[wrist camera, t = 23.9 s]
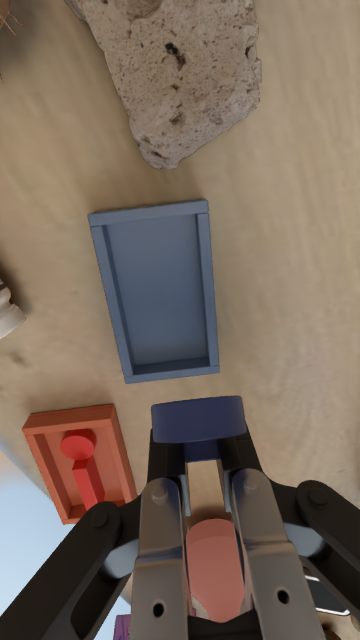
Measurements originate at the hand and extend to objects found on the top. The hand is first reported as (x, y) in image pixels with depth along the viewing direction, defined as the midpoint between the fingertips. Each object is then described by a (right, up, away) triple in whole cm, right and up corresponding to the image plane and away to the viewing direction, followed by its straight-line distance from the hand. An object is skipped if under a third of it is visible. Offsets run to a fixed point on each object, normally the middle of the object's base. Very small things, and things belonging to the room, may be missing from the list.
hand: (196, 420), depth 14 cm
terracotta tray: (-10, -10, +17) cm, 22 cm away
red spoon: (-10, -10, +17) cm, 22 cm away
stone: (-2, +21, +4) cm, 22 cm away
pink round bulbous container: (+3, -20, +22) cm, 30 cm away
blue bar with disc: (0, +1, 0) cm, 1 cm away
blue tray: (-2, +7, +10) cm, 12 cm away
